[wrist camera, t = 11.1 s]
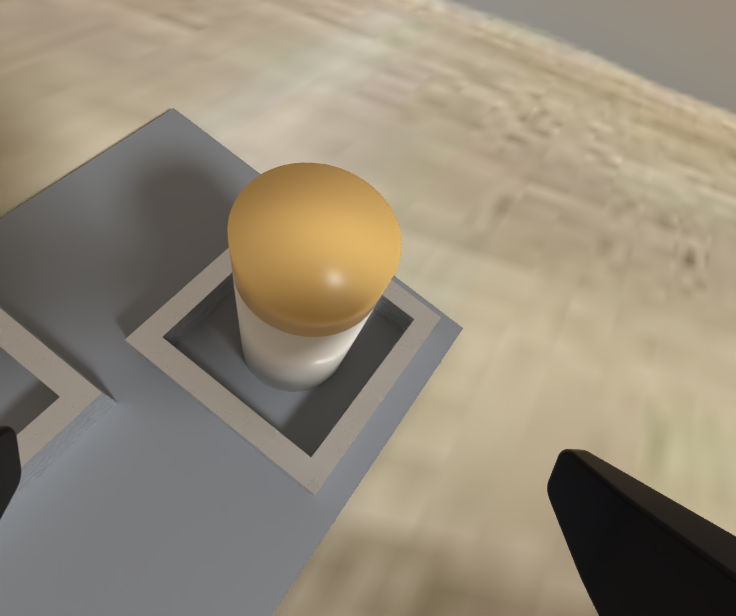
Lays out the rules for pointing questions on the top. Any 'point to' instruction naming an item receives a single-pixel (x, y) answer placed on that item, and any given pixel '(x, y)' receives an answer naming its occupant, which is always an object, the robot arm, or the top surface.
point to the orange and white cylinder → (307, 269)
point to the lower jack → (306, 471)
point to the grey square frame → (60, 419)
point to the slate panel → (165, 400)
